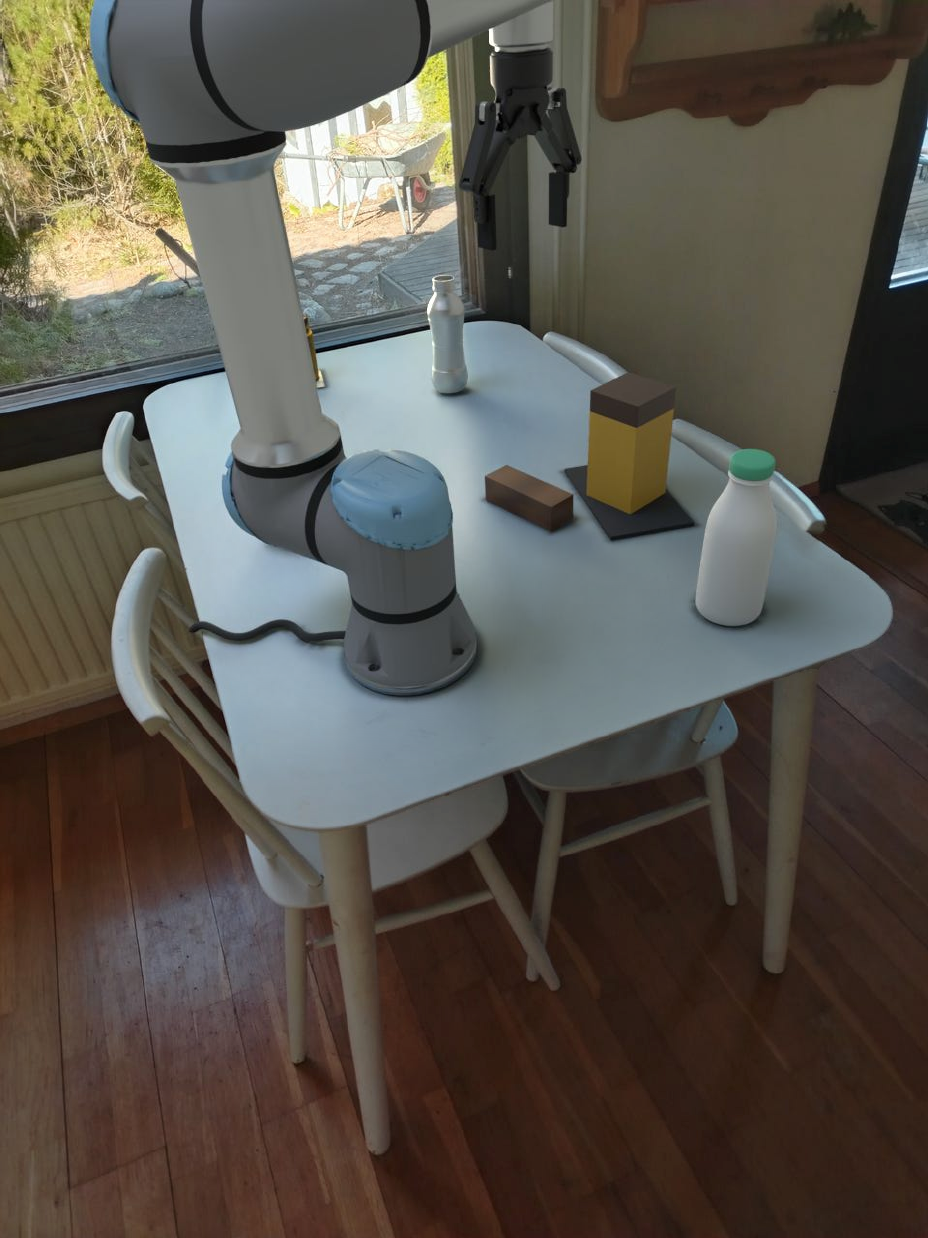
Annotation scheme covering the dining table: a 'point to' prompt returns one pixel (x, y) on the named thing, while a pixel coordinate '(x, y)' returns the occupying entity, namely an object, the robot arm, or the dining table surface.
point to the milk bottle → (739, 543)
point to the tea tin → (629, 441)
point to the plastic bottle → (447, 336)
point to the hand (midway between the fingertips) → (523, 236)
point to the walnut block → (529, 497)
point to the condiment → (313, 354)
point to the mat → (643, 521)
